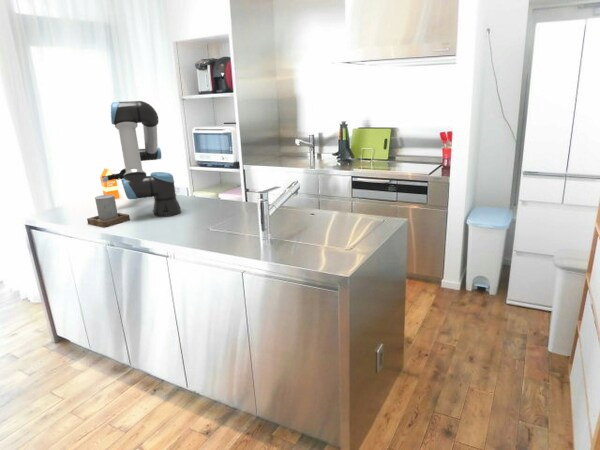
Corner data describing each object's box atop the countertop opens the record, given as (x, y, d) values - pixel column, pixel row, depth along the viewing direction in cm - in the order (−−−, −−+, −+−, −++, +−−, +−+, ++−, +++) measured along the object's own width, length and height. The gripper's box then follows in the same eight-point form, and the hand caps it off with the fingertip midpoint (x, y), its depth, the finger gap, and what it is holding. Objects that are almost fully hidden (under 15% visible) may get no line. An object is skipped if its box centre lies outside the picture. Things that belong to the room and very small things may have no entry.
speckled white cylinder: (121, 216, 228) (117, 194, 224) (112, 221, 219) (108, 198, 215) (105, 216, 229) (101, 194, 225) (95, 221, 220) (91, 198, 216)
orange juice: (115, 196, 285) (110, 167, 279) (119, 198, 279) (114, 168, 273) (103, 198, 280) (98, 168, 274) (107, 200, 274) (102, 170, 268)
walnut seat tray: (130, 220, 226) (129, 214, 225) (104, 227, 214) (103, 222, 213) (113, 216, 234) (112, 211, 233) (88, 224, 222) (86, 218, 221)
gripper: (149, 178, 257) (138, 185, 237) (108, 181, 256) (93, 187, 236) (147, 166, 255) (136, 171, 235) (106, 169, 254) (91, 174, 234)
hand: (115, 179), depth 235 cm, fingers open, 13 cm apart
